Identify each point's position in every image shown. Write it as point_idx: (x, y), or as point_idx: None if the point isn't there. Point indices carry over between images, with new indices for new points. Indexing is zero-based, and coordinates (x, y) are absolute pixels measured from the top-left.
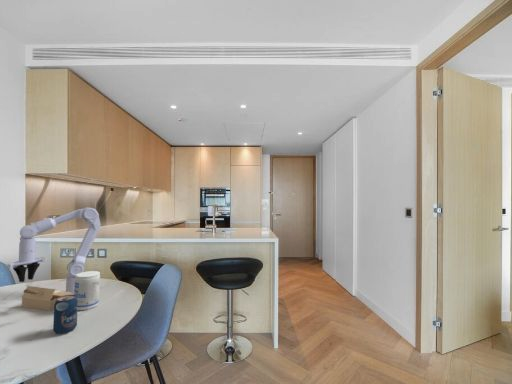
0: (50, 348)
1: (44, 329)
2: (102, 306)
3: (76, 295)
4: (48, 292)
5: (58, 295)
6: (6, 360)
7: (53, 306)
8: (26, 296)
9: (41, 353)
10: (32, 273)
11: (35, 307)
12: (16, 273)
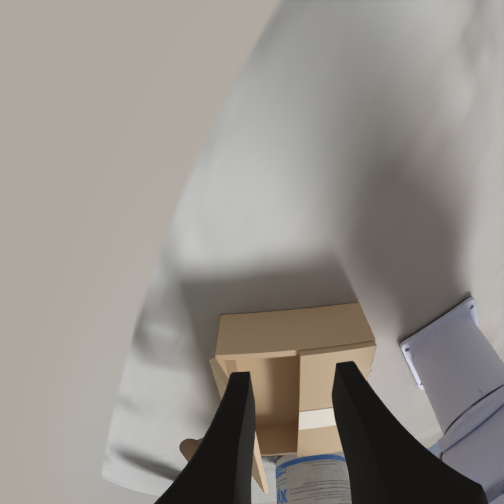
0: (153, 485)
1: (173, 465)
2: None
3: (277, 500)
4: (254, 474)
5: (297, 450)
6: (104, 467)
7: (260, 434)
8: (219, 390)
9: (141, 483)
10: (348, 459)
11: None
12: (187, 464)
